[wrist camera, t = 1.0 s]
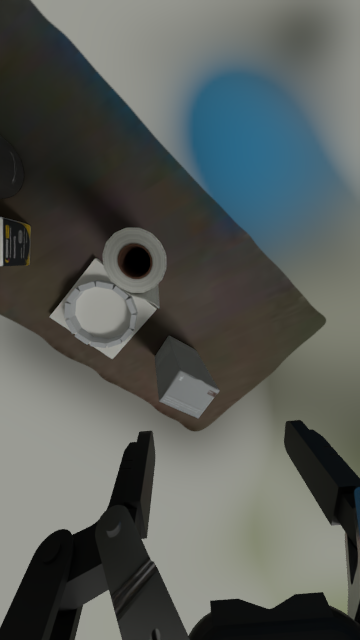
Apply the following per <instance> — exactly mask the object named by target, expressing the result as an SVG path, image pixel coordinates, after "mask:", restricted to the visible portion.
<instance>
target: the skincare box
mask: <svg viewBox="0 0 360 640" xmlns="http://www.w3.org/2000/svg"><path fill="white" fill-rule="evenodd" d="M155 365H156V375H157V384H158V394H159V401H160V402H162V403H164V404H167V405H169V406H171V407H173V408H175V409H178V410H180V411H182V412H184V413H187V414H189V415H191V416H194V417H196V418H199V417H200V415H201V414H202V413H203V411H204V410H205V409H206V408H207V406H208V405H209V404H210V402H211V401H212V400H213V398H214V397H215V396H216V395H217V393H218V392H219V389H218V387H217V385H216V384H215V382H214V380H213V379H212V377H211V375H210V373H209V372H208V370H207V368H206V366H205V365H204V363H203V361H202V359H201V358H200V356H199V354H198V353H197V351H196V350H195V349H193V348H191V347H189V346H188V345H186V344H184V343H182V342H180V341H179V340H177V339H175V338H173V337H171V336H168V337H167V339H166V340H165V342H164V343H163V345H162V346H161V348H160V349H159V351H158V352H157V354H156V355H155Z"/></svg>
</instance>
